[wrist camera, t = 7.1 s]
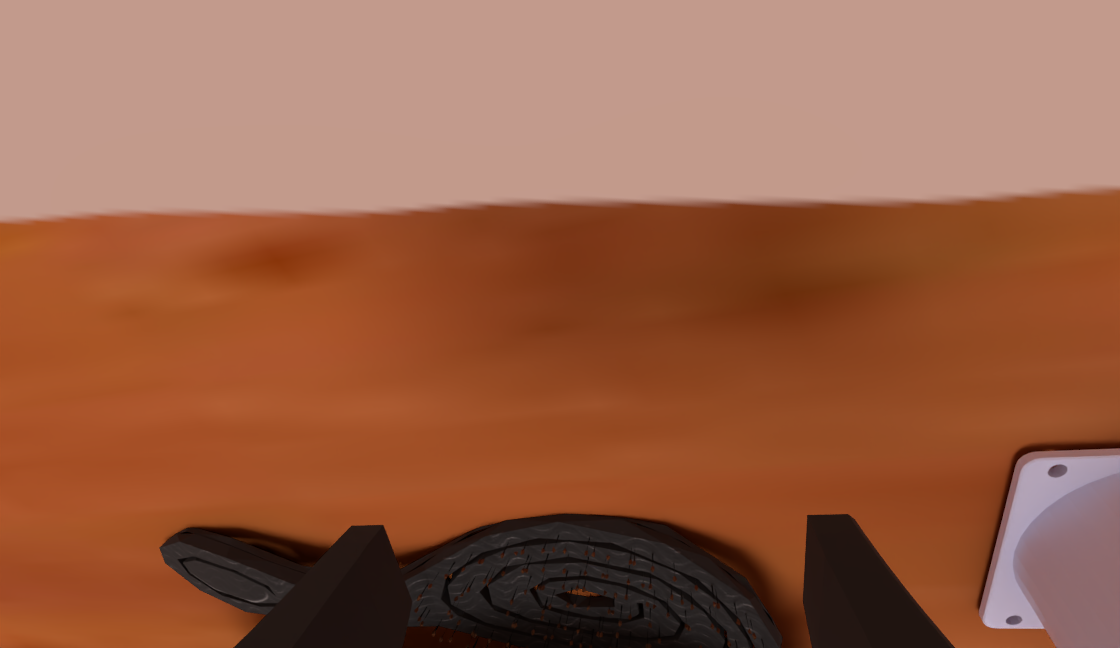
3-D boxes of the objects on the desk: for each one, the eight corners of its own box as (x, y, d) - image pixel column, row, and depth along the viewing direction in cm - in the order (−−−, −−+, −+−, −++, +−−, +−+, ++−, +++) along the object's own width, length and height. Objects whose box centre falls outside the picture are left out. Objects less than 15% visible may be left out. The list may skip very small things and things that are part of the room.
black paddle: (88, 521, 23) (810, 622, 19) (159, 453, 26) (792, 530, 23) (158, 660, 27) (766, 764, 24) (213, 587, 30) (755, 669, 27)
